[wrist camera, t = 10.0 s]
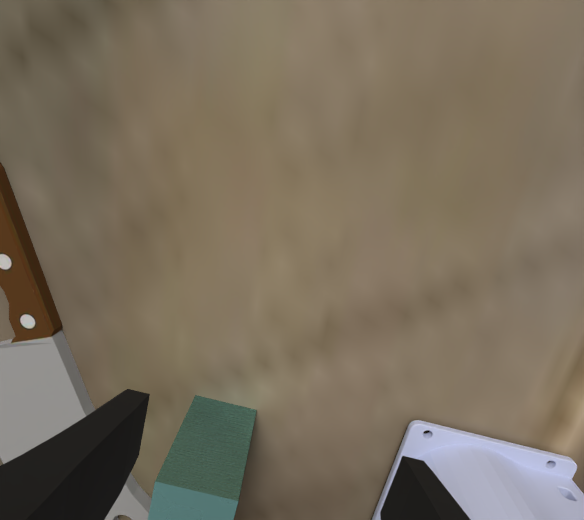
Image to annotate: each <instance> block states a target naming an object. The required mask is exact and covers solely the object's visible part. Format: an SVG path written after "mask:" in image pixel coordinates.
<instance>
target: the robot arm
mask: <svg viewBox="0 0 584 520" xmlns="http://www.w3.org/2000/svg"><path fill="white" fill-rule="evenodd" d="M149 395H150V394H147V393H142V392H138V391H134V390H130V389H127V390H125V391H123V392H122V393H120V394H119V395H117V396H116V397H114V398H113V399H111V400H110V401H108V402H107V403H105V404H104V405H102V406H101V407H99V408H98V409H96V410H95V411H93V412H92V413H90V414H89V415H87V416H86V417H84V418H83V419H81V420H79V421H78V422H76V423H75V424H73V425H71V426H70V427H68V428H67V429H65V430H63V431H62V432H60V433H59V434H57V435H55V436H54V437H52V438H50V439H48V440H47V441H45V442H43V443H41V444H39V445H38V446H36V447H34V448H32V449H31V450H29V451H27V452H25V453H24V454H22V455H20V456H18V457H16V458H14V459H12V460H10V461H9V462H7V463H5V464H3V465H1V466H0V520H105V518H106V516H107V515H108V513H109V511H110V510H111V508H112V506H113V505H114V503H115V501H116V500H117V498H118V496H119V495H120V493H121V491H122V489H123V487H124V485H125V483H126V481H127V479H128V477H129V475H130V473H131V470H132V468H133V466H134V464H135V462H136V460H137V458H138V455H139V451H140V445H141V439H142V434H143V428H144V423H145V417H146V412H147V406H148V401H149ZM426 430H430V432H429V433H427V434H424V433H423V432H424V431H426ZM548 461H550V462H549V463H547V462H548ZM576 470H577V464H576V463H575V462H574V461H573V460H572V459H571V458H570V457H567V456H563V455H559V454H555V453H551V452H547V451H542V450H538V449H534V448H530V447H526V446H522V445H518V444H514V443H510V442H506V441H502V440H498V439H494V438H490V437H486V436H481V435H477V434H473V433H469V432H465V431H461V430H457V429H453V428H449V427H445V426H441V425H437V424H433V423H429V422H425V421H420V420H415V421H412V422H411V423H410V424H409V425H408V428H407V430H406V433H405V435H404V438H403V441H402V443H401V446H400V448H399V451H398V453H397V456H396V459H395V461H394V464H393V466H392V469H391V471H390V474H389V477H388V479H387V482H386V484H385V487H384V489H383V492H382V494H381V497H380V500H379V502H378V505H377V507H376V510H375V512H374V515H373V518H372V520H584V494H583V493H582V491H581V490H580V489H579V488H578V487H577V485H576V484H575V483H574V482H573V480H572V477H573V476H574V474H575V472H576Z"/></svg>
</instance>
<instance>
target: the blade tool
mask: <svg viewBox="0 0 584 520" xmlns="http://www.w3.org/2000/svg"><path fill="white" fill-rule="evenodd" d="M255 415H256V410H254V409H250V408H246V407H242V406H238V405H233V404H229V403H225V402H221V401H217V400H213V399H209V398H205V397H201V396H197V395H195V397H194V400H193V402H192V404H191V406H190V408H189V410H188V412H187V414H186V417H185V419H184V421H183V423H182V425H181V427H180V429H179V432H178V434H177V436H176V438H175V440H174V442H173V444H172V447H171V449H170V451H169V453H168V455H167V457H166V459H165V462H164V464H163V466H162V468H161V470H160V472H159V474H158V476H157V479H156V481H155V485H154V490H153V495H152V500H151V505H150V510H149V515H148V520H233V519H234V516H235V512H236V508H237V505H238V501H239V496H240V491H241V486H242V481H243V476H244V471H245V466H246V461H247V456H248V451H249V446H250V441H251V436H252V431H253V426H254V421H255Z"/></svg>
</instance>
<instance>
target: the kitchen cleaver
mask: <svg viewBox="0 0 584 520" xmlns="http://www.w3.org/2000/svg"><path fill="white" fill-rule="evenodd" d="M0 286H1V287H2V289H3V290H4V292H5V295H6V297H7V299H8V302H9V320H10V323H11V325H12V328H13V330H14V332H15V335H16V337H15V338H13V339H10V340H6V341H1V342H0V458H1V460H2V462H3V464H5V463H7V462H9V461H10V460H12V459H14V458H16V457H18V456H20V455H22V454H24V453H25V452H27V451H29V450H31V449H32V448H34V447H36V446H38V445H39V444H41V443H43V442H45V441H47V440H48V439H50V438H52V437H54V436H55V435H57V434H59V433H60V432H62V431H63V430H65V429H67V428H68V427H70V426H71V425H73V424H75V423H76V422H78V421H79V420H81V419H83V418H84V417H86V416H87V415H89V414H90V413H92V412H93V411H95V408H94V406H93V404H92V402H91V400H90V398H89V395H88V393H87V390H86V388H85V385H84V383H83V380H82V378H81V375H80V373H79V370H78V368H77V365H76V363H75V360H74V358H73V355H72V353H71V350H70V348H69V346H68V343H67V341H66V338H65V336H64V334H63V332H62V323H61V320H60V318H59V315H58V312H57V309H56V307H55V304H54V301H53V299H52V296H51V293H50V290H49V288H48V285H47V282H46V280H45V277H44V274H43V271H42V269H41V266H40V263H39V261H38V258H37V255H36V252H35V250H34V247H33V244H32V242H31V239H30V236H29V233H28V231H27V228H26V225H25V223H24V220H23V218H22V215H21V212H20V210H19V207H18V204H17V202H16V199H15V196H14V194H13V191H12V188H11V186H10V183H9V181H8V178H7V175H6V173H5V170H4V167H3V166H2V165H1V163H0ZM151 500H152V499H151V498H150V497H149V496H148V495H147V494H146V493H145V492H144V490H143V489H142V488H141V487H140V486H139V485H138V483H137V482H136V480H135V479H134V477H133V476H132V474H131V473H130V475H129V477H128V479H127V481H126V483H125V485H124V487H123V489H122V491H121V493H120V495H119V496H118V498H117V500H116V501H115V503H114V505H113V506H112V508H111V510H110V511H109V513H108V515H107V516H106V518H105V520H119V519H118V517H117V515H125V516H128V517H129V518H131V519H132V520H148V515H149V510H150V505H151Z"/></svg>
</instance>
